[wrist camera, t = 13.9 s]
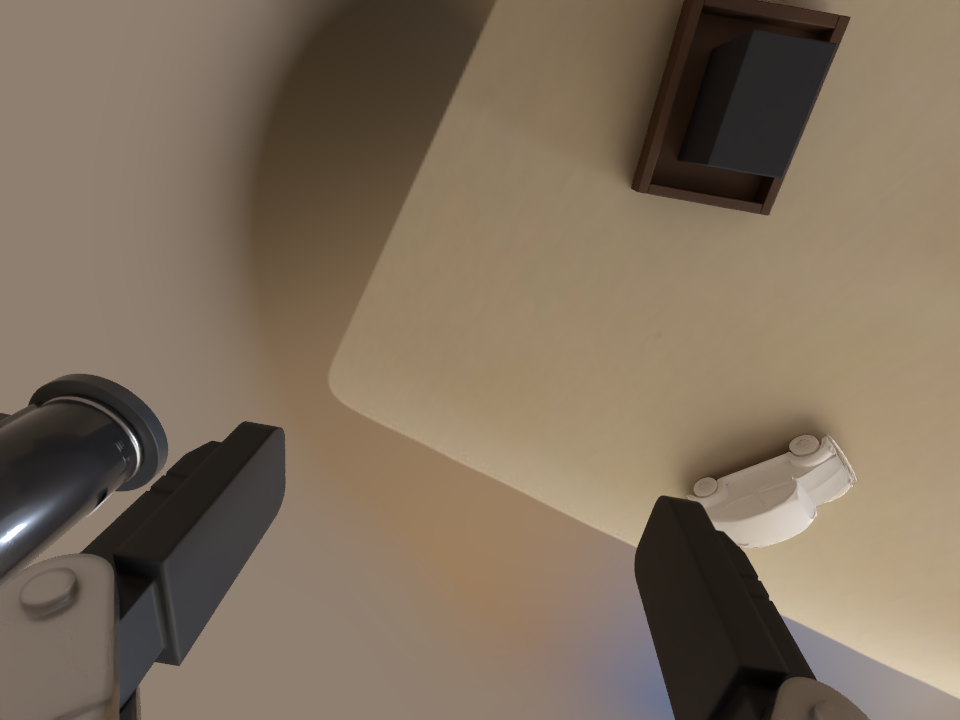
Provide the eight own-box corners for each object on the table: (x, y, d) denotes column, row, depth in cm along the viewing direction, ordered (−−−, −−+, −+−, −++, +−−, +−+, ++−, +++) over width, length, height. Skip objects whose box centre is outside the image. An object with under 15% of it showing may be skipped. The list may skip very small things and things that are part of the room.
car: (712, 534, 43) (732, 577, 38) (677, 488, 41) (694, 528, 37) (850, 473, 39) (890, 514, 35) (818, 419, 37) (856, 456, 33)
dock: (630, 188, 31) (637, 191, 29) (684, -1, 27) (696, -11, 25) (754, 211, 31) (769, 215, 29) (828, 25, 27) (851, 16, 25)
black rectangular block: (676, 160, 30) (706, 165, 25) (712, 48, 27) (753, 28, 22) (739, 172, 30) (782, 178, 25) (781, 60, 27) (838, 43, 22)
